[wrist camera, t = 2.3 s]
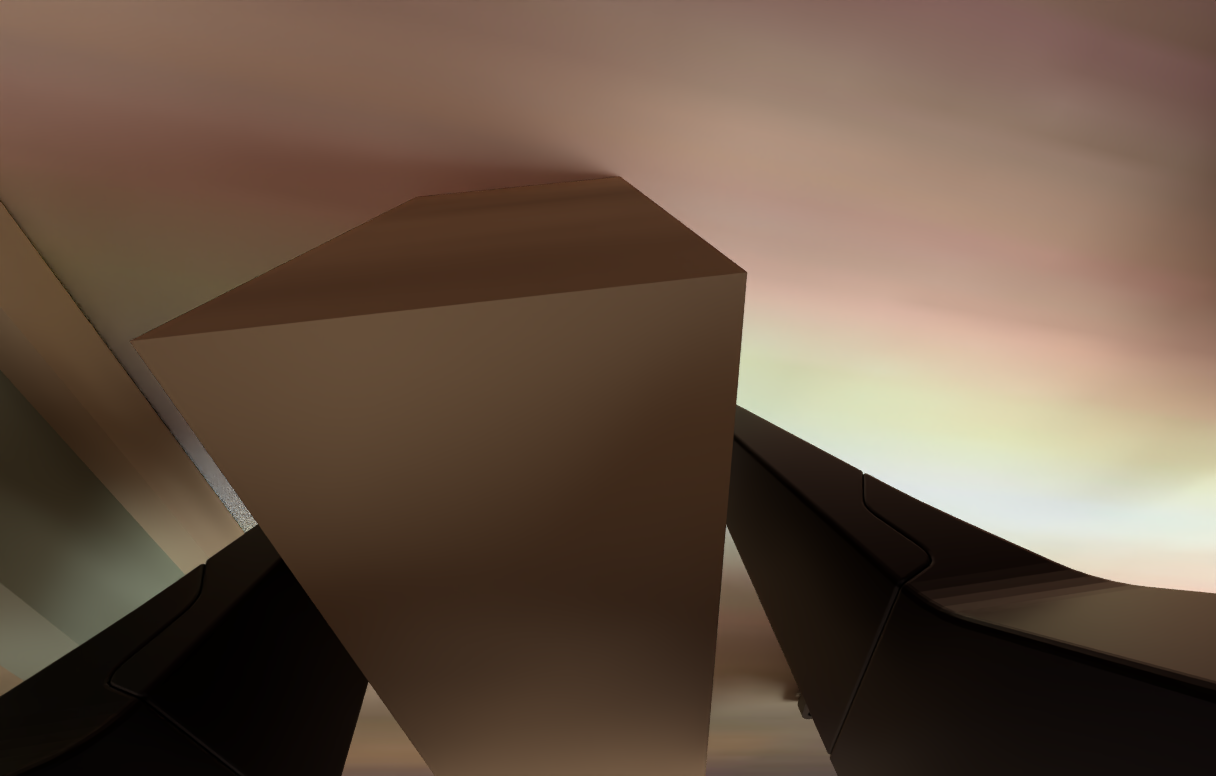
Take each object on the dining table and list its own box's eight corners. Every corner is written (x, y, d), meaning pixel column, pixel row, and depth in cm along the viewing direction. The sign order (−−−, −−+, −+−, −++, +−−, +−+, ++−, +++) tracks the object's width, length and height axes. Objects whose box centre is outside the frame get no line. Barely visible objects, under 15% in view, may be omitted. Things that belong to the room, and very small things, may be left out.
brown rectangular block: (640, 529, 12) (701, 814, 7) (516, 546, 12) (487, 851, 7) (619, 176, 8) (747, 272, 3) (417, 195, 8) (129, 341, 2)
